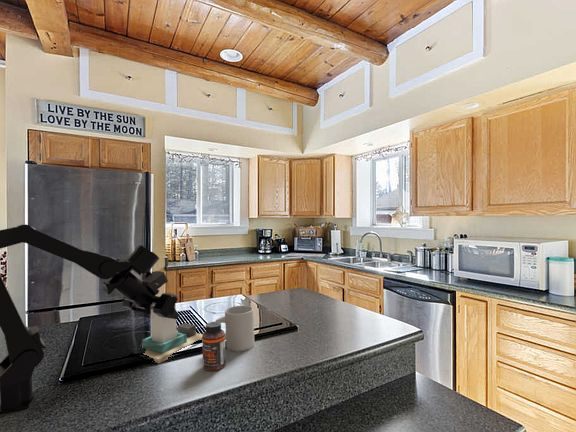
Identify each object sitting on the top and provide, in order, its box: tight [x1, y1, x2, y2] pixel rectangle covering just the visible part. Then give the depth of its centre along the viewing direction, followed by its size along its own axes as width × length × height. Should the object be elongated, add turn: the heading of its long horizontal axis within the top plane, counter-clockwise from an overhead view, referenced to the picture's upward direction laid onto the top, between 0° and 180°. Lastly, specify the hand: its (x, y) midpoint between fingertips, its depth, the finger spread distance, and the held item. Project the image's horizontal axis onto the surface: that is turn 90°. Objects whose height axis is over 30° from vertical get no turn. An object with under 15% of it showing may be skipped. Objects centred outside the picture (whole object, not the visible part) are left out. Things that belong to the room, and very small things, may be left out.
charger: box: [150, 304, 178, 344], centre depth 97 cm, size 5×5×12 cm
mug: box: [214, 305, 256, 352], centre depth 96 cm, size 12×8×11 cm
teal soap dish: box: [141, 322, 203, 364], centre depth 98 cm, size 18×13×4 cm
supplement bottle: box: [201, 321, 227, 372], centre depth 85 cm, size 6×6×11 cm
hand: (167, 315), depth 98 cm, fingers open, 9 cm apart
